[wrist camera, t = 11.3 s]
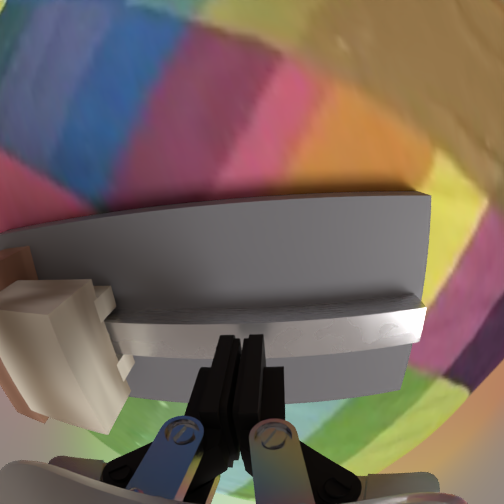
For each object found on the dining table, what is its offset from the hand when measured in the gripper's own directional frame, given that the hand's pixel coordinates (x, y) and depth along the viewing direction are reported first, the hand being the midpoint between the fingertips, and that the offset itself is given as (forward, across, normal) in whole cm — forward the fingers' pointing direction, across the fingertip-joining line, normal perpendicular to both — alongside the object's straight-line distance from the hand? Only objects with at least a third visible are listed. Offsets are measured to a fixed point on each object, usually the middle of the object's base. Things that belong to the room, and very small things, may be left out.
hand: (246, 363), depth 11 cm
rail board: (+5, +4, 0) cm, 6 cm away
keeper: (+3, +10, 0) cm, 11 cm away
